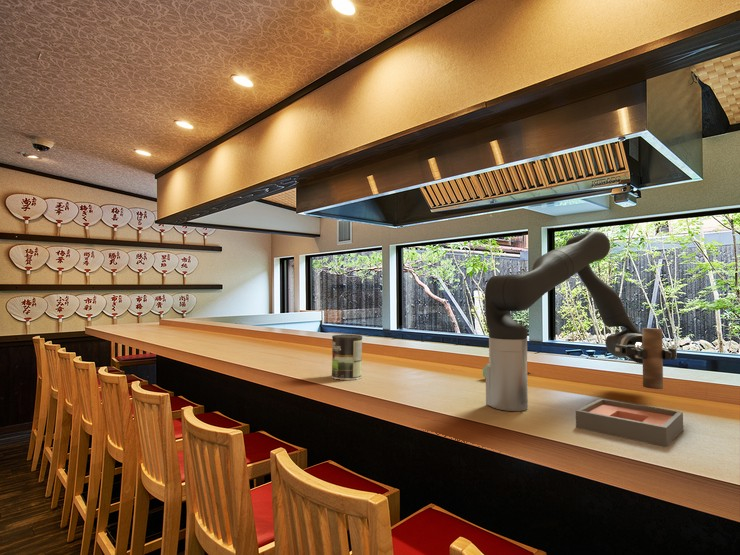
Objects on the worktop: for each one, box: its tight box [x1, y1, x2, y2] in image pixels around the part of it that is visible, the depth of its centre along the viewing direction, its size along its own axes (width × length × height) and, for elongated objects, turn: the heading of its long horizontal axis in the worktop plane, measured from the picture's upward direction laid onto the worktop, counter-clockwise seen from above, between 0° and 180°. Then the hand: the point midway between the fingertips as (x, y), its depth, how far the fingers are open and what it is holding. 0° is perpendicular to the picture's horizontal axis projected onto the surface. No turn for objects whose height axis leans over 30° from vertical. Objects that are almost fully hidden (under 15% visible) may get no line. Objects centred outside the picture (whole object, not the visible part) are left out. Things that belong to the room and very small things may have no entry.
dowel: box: [641, 327, 664, 390], centre depth 100 cm, size 4×4×14 cm
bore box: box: [575, 398, 684, 448], centre depth 89 cm, size 16×16×4 cm
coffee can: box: [331, 334, 363, 381], centre depth 142 cm, size 10×10×14 cm
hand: (655, 354), depth 98 cm, fingers closed on dowel, 4 cm apart
